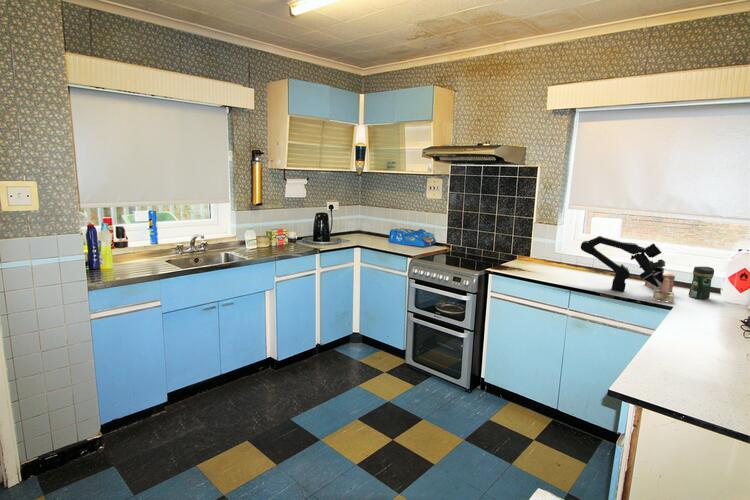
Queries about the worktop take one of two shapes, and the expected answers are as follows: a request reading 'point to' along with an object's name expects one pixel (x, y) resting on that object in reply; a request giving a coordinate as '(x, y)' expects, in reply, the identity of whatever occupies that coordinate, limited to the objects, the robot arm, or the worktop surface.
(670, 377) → the worktop surface
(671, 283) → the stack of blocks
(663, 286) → the needle peg
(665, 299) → the bead block
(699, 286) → the coffee jar
